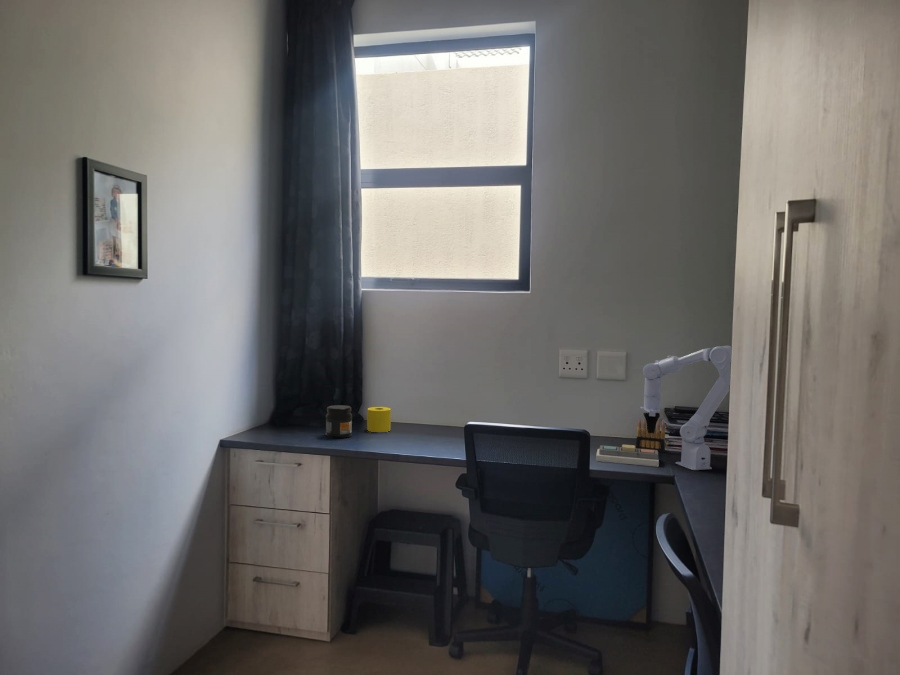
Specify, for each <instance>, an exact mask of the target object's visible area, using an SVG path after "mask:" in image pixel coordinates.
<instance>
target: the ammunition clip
mask: <svg viewBox="0 0 900 675" xmlns="http://www.w3.org/2000/svg"><path fill="white" fill-rule="evenodd" d="M665 427H666V423H665V421H664V420H663V421H662V423H661V424H660V420H659V419H658V421H657V423H656V427H655V431H654V433H648V431H647V423H646V419H644V418H643V420H642V421H641V418H638V422H637V428H636V443H635V448H637V449H649V450H658V453H665V452H666V443H665V442H666V428H665Z"/></svg>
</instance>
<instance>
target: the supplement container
mask: <svg viewBox="0 0 900 675" xmlns="http://www.w3.org/2000/svg"><path fill="white" fill-rule="evenodd" d="M326 411H327V413H326V414H325V436H326V437H327V438H329V437H330V438H329V439H337V438H339V439H347V438H349V437H351V436H352V435H353V432H352V431H353V430H352V429H353V427H352V424H353V421H352V420H353V414H352V413H351V412H352V407H351V406H350V405H341V404H340V405H339V404H337V405H329V406H327V407H326ZM346 437H347V438H346Z"/></svg>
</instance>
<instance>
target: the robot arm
mask: <svg viewBox="0 0 900 675" xmlns="http://www.w3.org/2000/svg"><path fill="white" fill-rule="evenodd" d="M666 357H667V358H663V359H657V360H654V362H653V363H652V362H650V363H647V364H645V365H644V366H643V369H642V375H643V377H644V387H643V388H644V390H643V392H644V393H643V406H640V407H639V408H640V410H644V411H645V412H643V417H644V418H645V422H646V430H647V431H648V433H654V431H655V432H656V428H657V422H658V420H659V419H660V417H661V415H660V411H661V398H662V396H661V393H662V378H663V377H666V376H669V375H671V374H675V373H678V372H681V370H683V367H684V366H688V365H691V364H695V363H697V362H702V361H705V362H711V363H712V364H713V366H714V367H715V368H716V370H717V372H718V375H719V376H718V378H717V379H716V381H715V383H714V384H713V385H712V387H711V389H710V390H709V392H708V393H707V395H706V396H705V398H704V400H703V401H702V403H700V405H699V407H698V409H697V410H696V411H695V413H694V414H693V415H692V416H691V417H690V418H689V420H688V421H687V422H686V423H684V424H683V425H682V426H681V427H680V430H679V435H680V437H681V453H680V454H681V457H680V461H676V462H675V465H678V466H681V467H684V468H686V469H688V470H692V471H700V470H702V471H703V470H704V471H705V470H712V467H711V449H710V447H709V446H708V445H706V444H705V439H704V437H706V434H707V432H708V427H709V425H710V420H711V419H712V417H713V416H714V414H715V412H716V411H717V410H718V408H719V407H720V405H721V403H722V402H723V400H724V399H725V397H726V396H727V395H728V393H729V392H730V390H729V385H730V362H731V345H726V344H725V345H723V346H719V345H717V346H715V347H708V348H703V349H702V348H701V349H700V350H698V351H694V352H692V353H690V354H687V355H684V356H681V357H678V356H677V355H672V354H671V355H667V356H666Z"/></svg>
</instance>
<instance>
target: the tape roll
mask: <svg viewBox="0 0 900 675" xmlns="http://www.w3.org/2000/svg"><path fill="white" fill-rule="evenodd" d="M366 416H367V417H366V418H367V419H366V431H367V430H368V431H371V432H387V433H389V432H388V431H390V430H391V426H392V422H391V420H392V408H390V407H387V406H373V407H371V406H370V407H368V408H367V414H366ZM368 431H367V432H368ZM371 432H370V433H371ZM390 432H391V431H390Z"/></svg>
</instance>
